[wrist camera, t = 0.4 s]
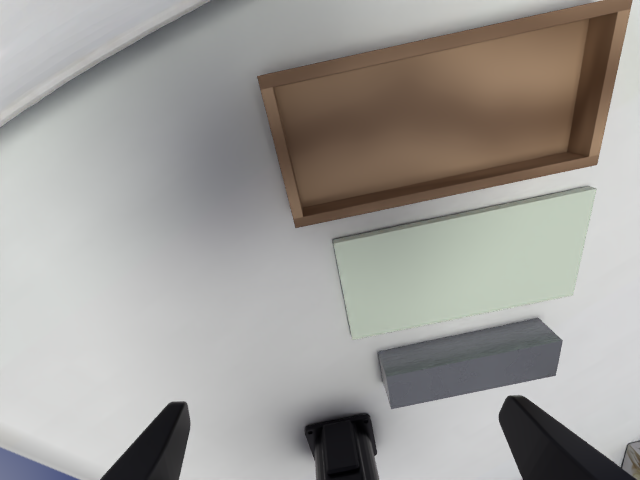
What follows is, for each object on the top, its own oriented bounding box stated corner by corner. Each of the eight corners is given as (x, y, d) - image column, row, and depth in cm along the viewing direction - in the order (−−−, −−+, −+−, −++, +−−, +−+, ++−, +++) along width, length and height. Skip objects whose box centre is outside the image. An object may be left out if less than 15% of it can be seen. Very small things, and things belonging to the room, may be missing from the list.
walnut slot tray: (567, 157, 20) (597, 164, 18) (295, 214, 20) (295, 228, 18) (593, 4, 16) (633, -7, 15) (261, 77, 17) (256, 76, 15)
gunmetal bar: (530, 348, 28) (555, 375, 26) (382, 379, 29) (391, 409, 26) (535, 315, 27) (562, 340, 24) (377, 348, 27) (386, 377, 24)
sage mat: (566, 290, 25) (572, 295, 25) (351, 334, 26) (352, 340, 25) (588, 186, 21) (596, 188, 21) (332, 239, 21) (333, 243, 21)
